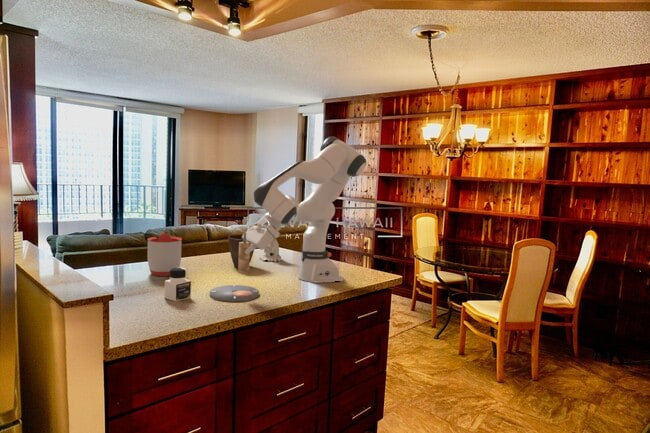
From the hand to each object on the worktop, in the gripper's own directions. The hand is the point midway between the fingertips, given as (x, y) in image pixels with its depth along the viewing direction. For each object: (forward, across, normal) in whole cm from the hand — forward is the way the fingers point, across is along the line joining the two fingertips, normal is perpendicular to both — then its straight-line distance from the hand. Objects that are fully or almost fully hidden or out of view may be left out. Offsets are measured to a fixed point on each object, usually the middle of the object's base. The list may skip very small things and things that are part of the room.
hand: (243, 251), depth 169 cm
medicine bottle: (+30, -7, -4) cm, 31 cm away
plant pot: (+2, -52, +25) cm, 58 cm away
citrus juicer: (+30, -48, -3) cm, 57 cm away
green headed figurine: (-13, -65, +40) cm, 77 cm away
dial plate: (+14, -4, +12) cm, 19 cm away
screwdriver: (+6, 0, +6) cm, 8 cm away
